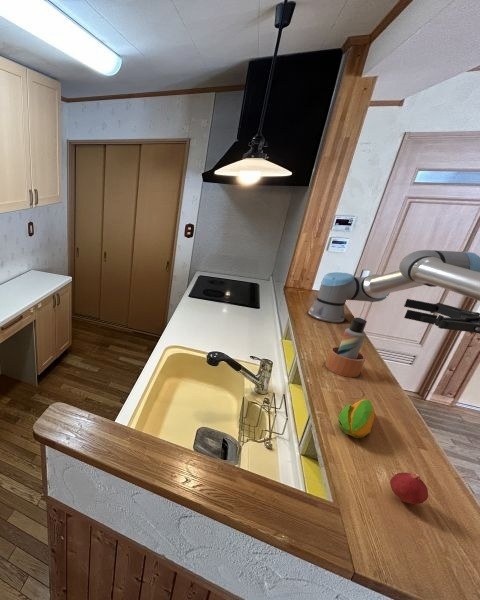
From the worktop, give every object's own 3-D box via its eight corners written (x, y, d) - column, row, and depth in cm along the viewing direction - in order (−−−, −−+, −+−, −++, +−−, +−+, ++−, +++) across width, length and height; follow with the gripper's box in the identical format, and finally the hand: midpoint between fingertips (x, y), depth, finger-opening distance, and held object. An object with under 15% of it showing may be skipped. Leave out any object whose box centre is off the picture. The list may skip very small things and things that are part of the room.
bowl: (350, 364, 125) (356, 348, 122) (364, 379, 116) (371, 362, 113) (320, 360, 127) (325, 344, 125) (332, 374, 118) (338, 358, 115)
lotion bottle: (345, 363, 124) (363, 316, 116) (355, 372, 118) (374, 323, 111) (329, 362, 124) (346, 315, 117) (339, 371, 119) (357, 322, 112)
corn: (339, 411, 87) (356, 383, 100) (329, 432, 90) (346, 402, 103) (374, 428, 82) (387, 396, 95) (361, 450, 85) (375, 416, 98)
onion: (378, 489, 74) (390, 463, 71) (400, 487, 75) (414, 461, 72) (403, 513, 69) (418, 486, 66) (428, 511, 69) (443, 485, 66)
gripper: (511, 356, 85) (401, 330, 98) (492, 327, 102) (401, 308, 115) (525, 330, 82) (410, 307, 95) (504, 305, 99) (409, 288, 112)
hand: (405, 307), depth 105 cm, fingers open, 13 cm apart
